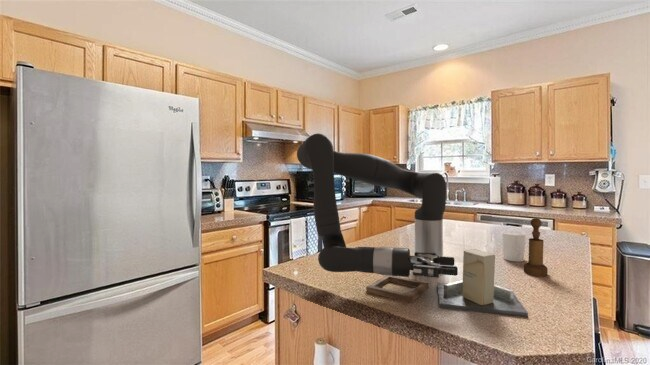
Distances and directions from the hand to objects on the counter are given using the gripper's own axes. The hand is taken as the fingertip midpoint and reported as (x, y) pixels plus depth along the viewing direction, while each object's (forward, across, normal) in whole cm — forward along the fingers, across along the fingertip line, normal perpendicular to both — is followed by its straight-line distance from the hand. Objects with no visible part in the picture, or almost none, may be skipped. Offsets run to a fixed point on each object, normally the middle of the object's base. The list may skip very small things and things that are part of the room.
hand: (455, 265), depth 82 cm
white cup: (+25, +48, +10) cm, 55 cm away
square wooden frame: (-15, +4, +9) cm, 18 cm away
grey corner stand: (+5, +3, +9) cm, 11 cm away
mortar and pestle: (+27, +31, +10) cm, 42 cm away
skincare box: (+5, 0, +8) cm, 10 cm away
